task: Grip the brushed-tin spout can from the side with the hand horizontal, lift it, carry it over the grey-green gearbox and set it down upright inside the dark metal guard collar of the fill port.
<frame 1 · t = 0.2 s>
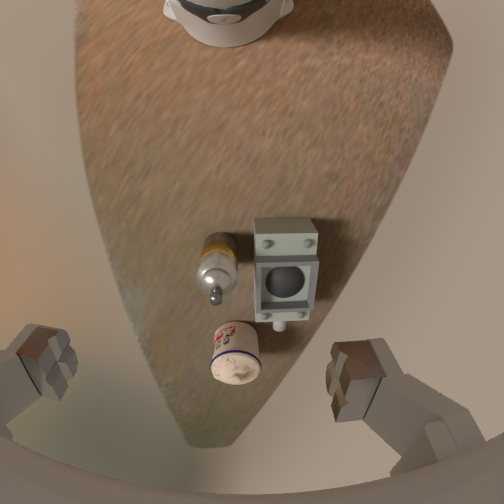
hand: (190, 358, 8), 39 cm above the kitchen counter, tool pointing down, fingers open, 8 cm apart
gearbox: (280, 262, 52), on the kitchen counter
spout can: (220, 247, 50), on the kitchen counter
teacup with lid: (232, 339, 60), on the kitchen counter
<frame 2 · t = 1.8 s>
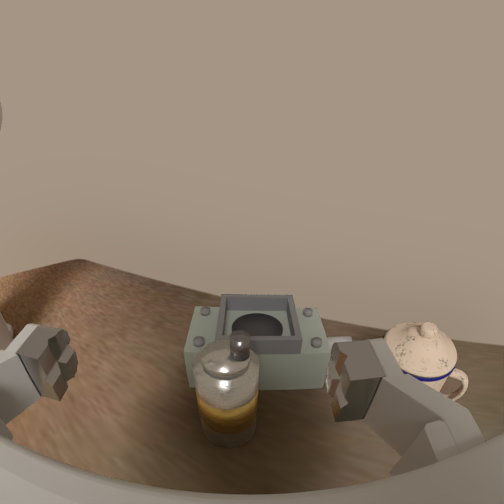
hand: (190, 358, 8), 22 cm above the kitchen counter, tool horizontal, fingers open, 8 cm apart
gearbox: (255, 364, 37), on the kitchen counter
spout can: (229, 426, 28), on the kitchen counter
teacup with lid: (405, 405, 29), on the kitchen counter
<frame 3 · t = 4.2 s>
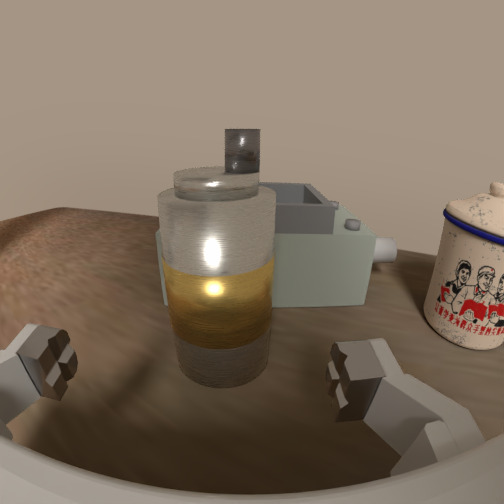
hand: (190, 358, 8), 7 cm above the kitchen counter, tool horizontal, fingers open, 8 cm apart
gearbox: (263, 280, 27), on the kitchen counter
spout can: (222, 355, 18), on the kitchen counter
teacup with lid: (478, 327, 19), on the kitchen counter
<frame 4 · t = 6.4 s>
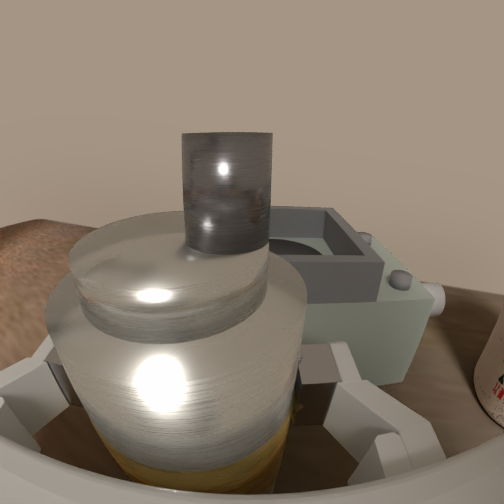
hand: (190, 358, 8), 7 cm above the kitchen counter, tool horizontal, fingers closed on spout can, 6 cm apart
gearbox: (267, 343, 19), on the kitchen counter
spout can: (208, 480, 10), on the kitchen counter, touching gripper
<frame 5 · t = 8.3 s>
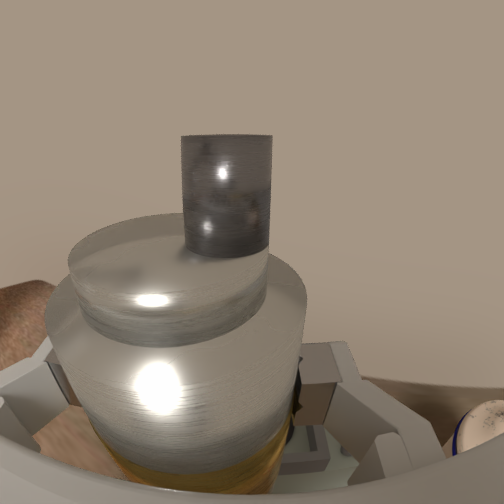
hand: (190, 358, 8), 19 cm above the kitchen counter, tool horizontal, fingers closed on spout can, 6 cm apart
gearbox: (251, 458, 21), on the kitchen counter
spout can: (208, 481, 10), point 12 cm above the kitchen counter, touching gripper
teacup with lid: (459, 499, 14), on the kitchen counter
when the fingers open (14 cm above the kitchen counter, at t = 10.4 s): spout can drops 1 cm, resting on gearbox.
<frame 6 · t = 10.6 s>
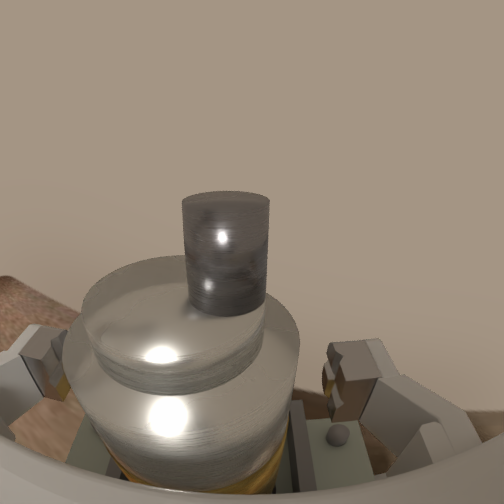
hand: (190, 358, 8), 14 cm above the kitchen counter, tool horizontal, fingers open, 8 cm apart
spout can: (210, 489, 11), point 6 cm above the kitchen counter, touching gearbox
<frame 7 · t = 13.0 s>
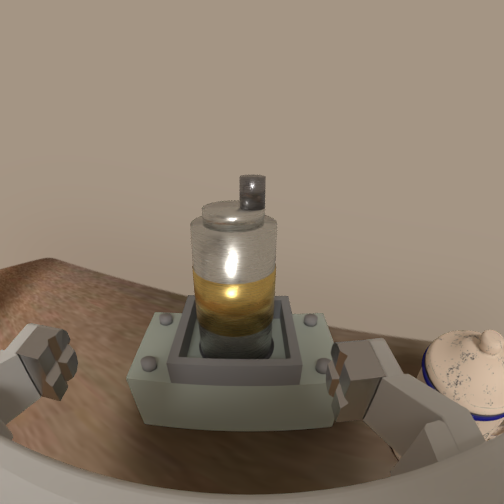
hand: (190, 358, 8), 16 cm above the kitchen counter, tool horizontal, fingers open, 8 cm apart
gearbox: (238, 392, 26), on the kitchen counter
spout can: (235, 343, 23), point 6 cm above the kitchen counter, touching gearbox
teacup with lid: (444, 444, 18), on the kitchen counter
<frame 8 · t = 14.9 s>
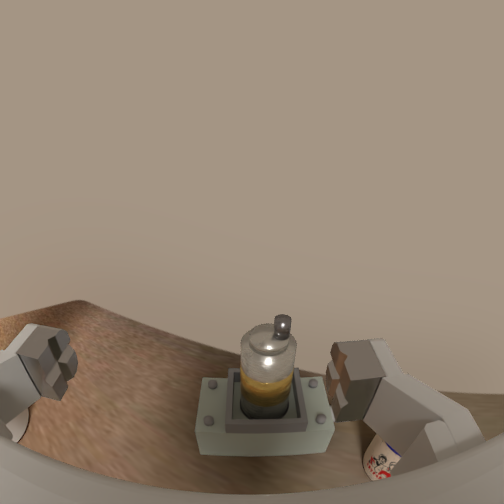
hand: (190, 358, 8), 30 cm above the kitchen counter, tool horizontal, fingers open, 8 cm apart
gearbox: (262, 429, 36), on the kitchen counter
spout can: (264, 403, 33), point 6 cm above the kitchen counter, touching gearbox
teacup with lid: (401, 465, 28), on the kitchen counter
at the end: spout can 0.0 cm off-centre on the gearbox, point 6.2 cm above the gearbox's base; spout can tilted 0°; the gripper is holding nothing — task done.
